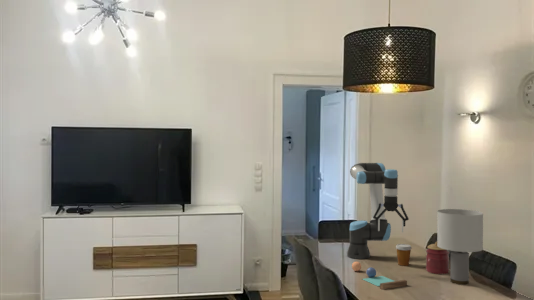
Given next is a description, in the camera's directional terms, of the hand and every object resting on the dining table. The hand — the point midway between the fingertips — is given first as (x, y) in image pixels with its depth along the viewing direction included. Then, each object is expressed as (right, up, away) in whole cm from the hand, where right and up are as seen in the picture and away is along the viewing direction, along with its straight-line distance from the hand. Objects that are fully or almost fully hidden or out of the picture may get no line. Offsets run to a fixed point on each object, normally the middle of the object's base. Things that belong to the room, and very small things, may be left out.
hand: (390, 231), depth 271 cm
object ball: (-15, -20, -15) cm, 29 cm away
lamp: (+31, -24, -24) cm, 46 cm away
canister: (+27, -23, -3) cm, 36 cm away
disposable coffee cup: (+11, -23, +12) cm, 29 cm away
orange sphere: (-21, -20, -2) cm, 29 cm away
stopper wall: (-7, -23, -32) cm, 40 cm away
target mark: (-12, -23, -22) cm, 34 cm away
